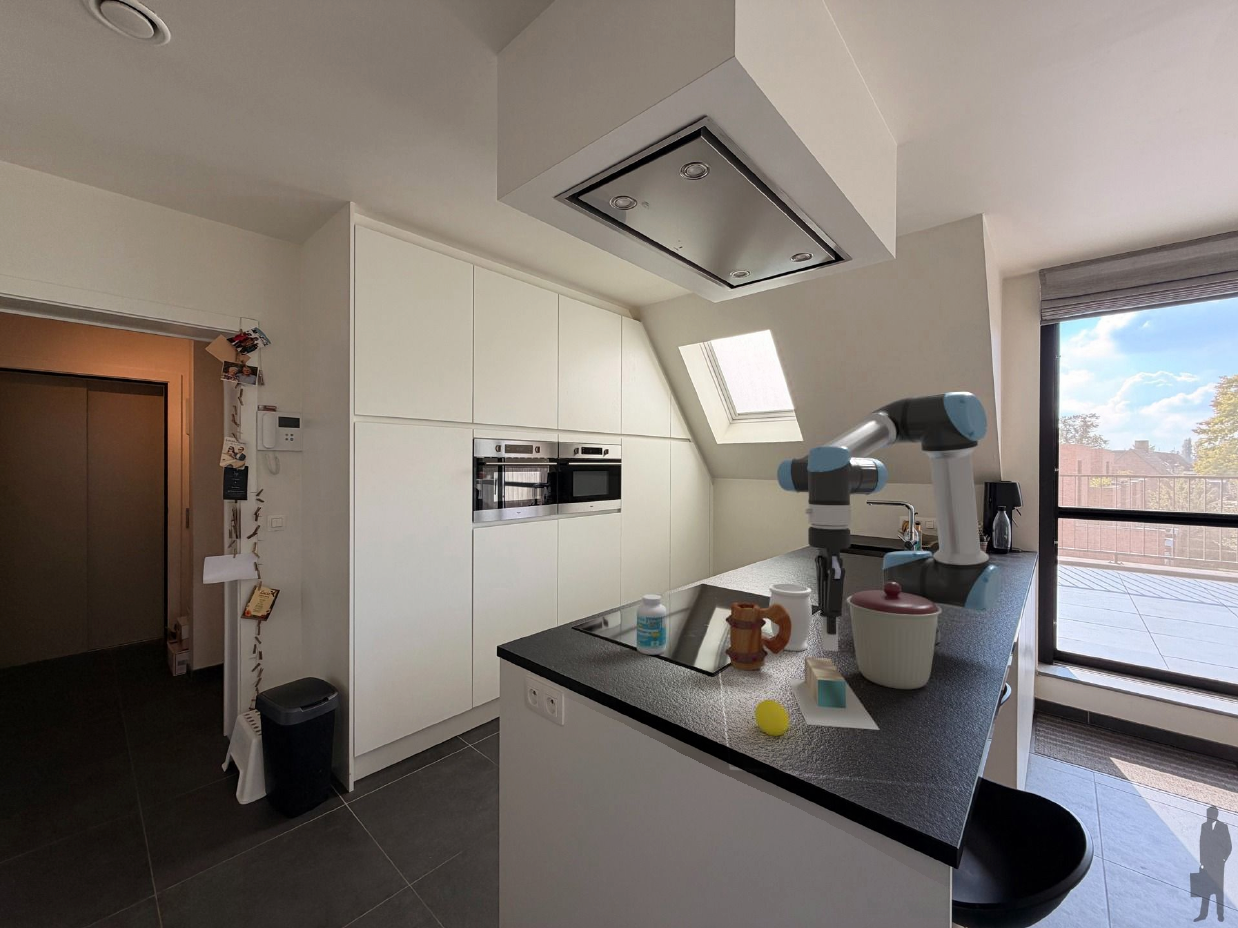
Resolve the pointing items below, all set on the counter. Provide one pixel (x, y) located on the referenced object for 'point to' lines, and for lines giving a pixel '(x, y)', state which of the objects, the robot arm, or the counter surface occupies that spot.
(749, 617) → the mug
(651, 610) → the pill bottle
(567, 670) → the counter surface
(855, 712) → the mat
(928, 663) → the canister
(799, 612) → the jar
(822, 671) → the block
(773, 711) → the lemon
